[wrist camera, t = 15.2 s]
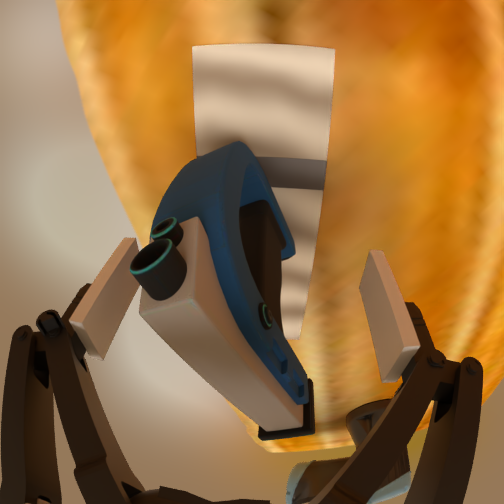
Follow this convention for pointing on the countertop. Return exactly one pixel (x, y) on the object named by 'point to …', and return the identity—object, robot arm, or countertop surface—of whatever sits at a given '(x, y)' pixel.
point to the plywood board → (273, 136)
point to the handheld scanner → (227, 288)
